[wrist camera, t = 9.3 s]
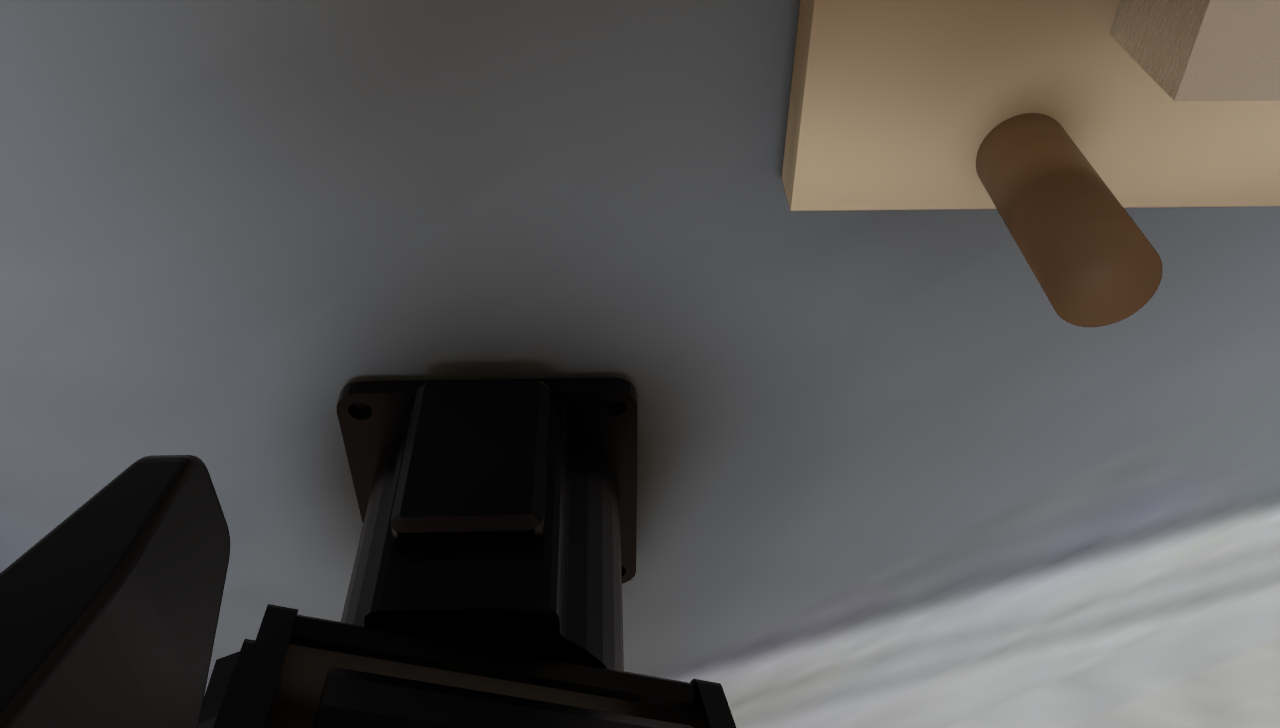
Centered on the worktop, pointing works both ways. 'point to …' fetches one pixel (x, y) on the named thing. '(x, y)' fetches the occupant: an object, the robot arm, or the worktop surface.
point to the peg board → (990, 65)
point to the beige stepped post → (1204, 46)
